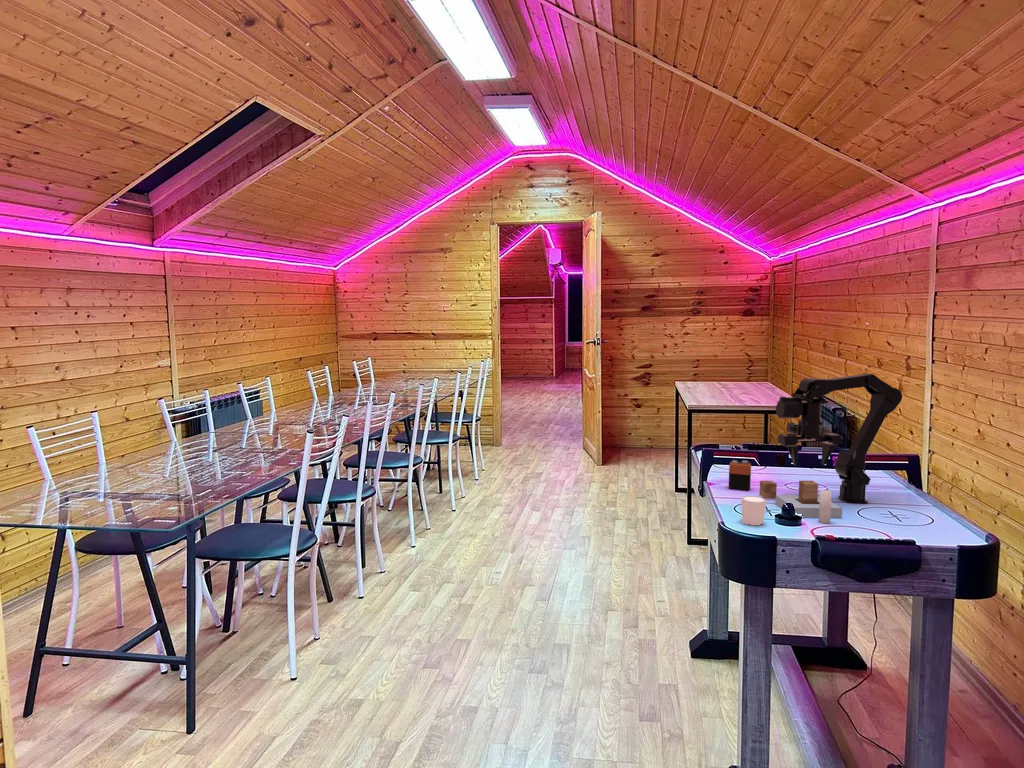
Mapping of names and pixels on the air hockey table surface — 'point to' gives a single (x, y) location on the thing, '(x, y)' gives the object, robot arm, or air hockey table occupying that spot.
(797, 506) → the gauge block
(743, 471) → the battery
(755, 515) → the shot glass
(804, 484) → the brown rectangular block
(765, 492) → the short brown block
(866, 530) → the air hockey table surface
